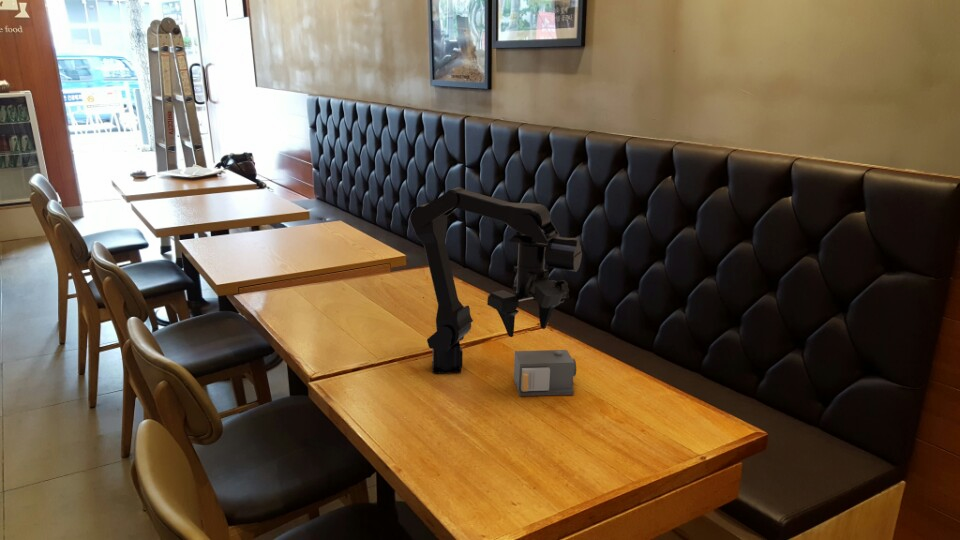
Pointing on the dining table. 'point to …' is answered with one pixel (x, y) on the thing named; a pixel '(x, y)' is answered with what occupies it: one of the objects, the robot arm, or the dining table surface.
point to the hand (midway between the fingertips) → (527, 332)
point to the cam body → (559, 370)
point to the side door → (535, 379)
